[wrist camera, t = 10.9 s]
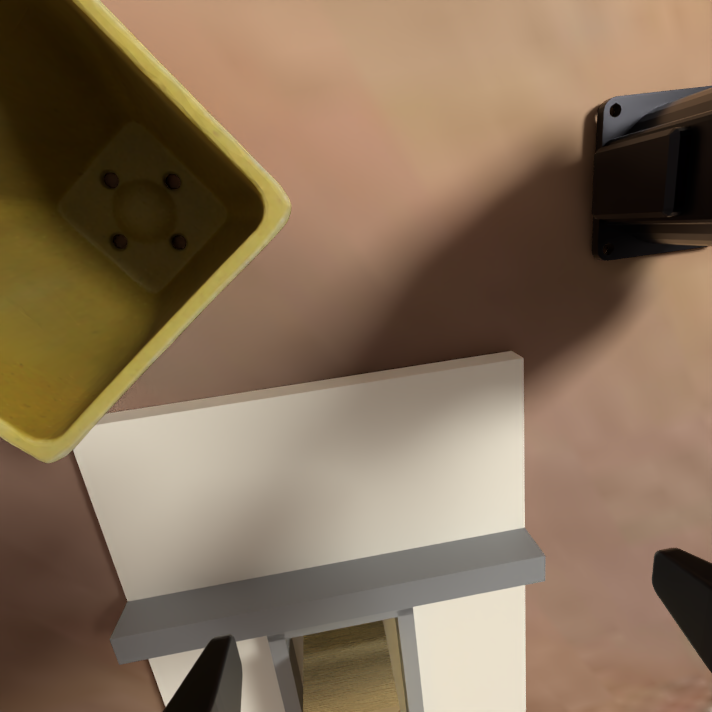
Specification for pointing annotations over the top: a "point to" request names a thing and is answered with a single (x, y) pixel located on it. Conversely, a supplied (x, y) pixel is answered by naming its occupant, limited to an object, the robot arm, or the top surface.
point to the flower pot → (106, 217)
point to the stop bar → (348, 671)
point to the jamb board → (327, 529)
